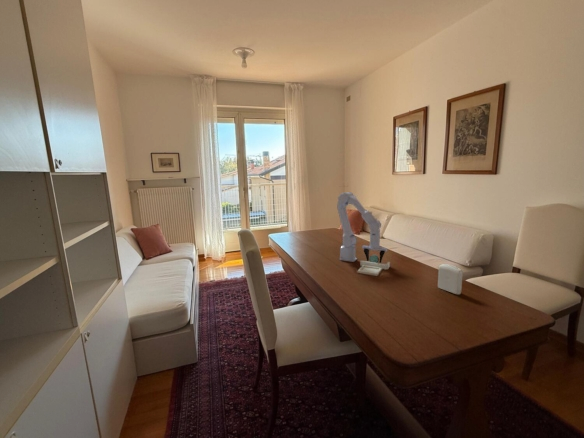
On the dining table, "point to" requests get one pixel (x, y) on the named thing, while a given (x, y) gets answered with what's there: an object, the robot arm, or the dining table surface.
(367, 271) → the white tray
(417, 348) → the dining table surface
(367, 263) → the wall
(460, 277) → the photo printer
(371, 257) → the ball
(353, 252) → the robot arm
